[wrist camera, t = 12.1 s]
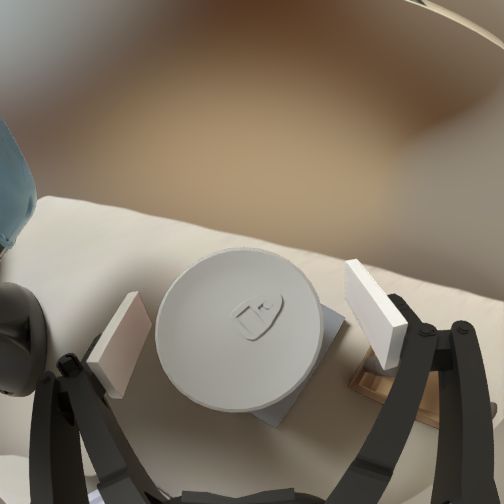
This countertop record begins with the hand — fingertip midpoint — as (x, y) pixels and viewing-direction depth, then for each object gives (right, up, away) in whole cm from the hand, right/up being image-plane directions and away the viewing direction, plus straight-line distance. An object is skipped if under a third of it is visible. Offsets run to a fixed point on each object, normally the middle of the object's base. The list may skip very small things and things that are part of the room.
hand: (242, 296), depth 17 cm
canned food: (+1, -5, +5) cm, 7 cm away
